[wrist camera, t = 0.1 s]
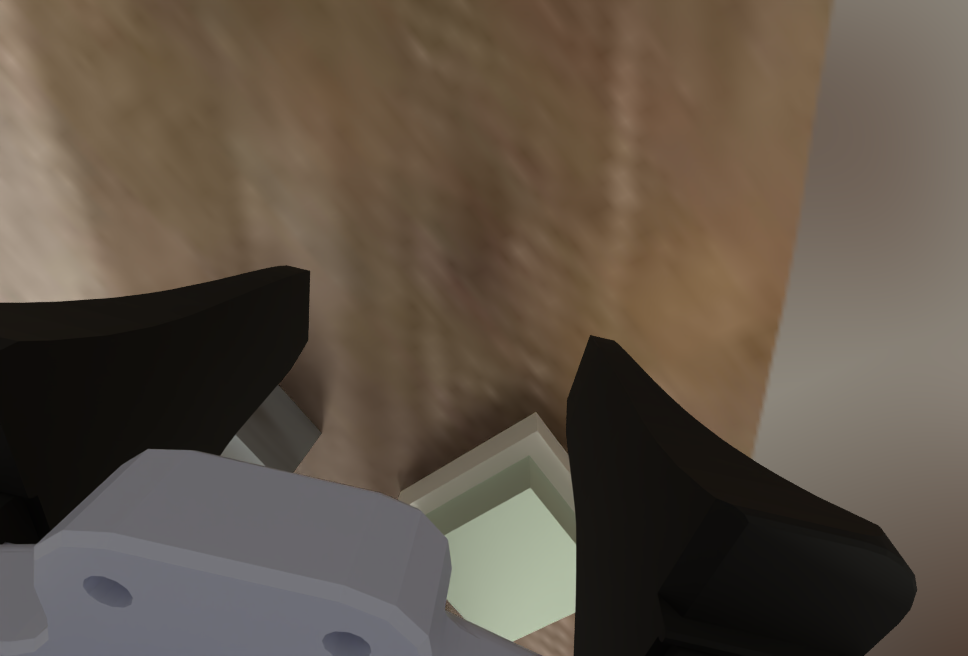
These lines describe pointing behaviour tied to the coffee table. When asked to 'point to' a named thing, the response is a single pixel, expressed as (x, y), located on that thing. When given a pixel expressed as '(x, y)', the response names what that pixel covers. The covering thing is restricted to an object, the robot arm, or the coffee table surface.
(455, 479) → the tower base slab
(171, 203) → the coffee table surface
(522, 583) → the tower top slab
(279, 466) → the slate cube
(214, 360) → the robot arm
